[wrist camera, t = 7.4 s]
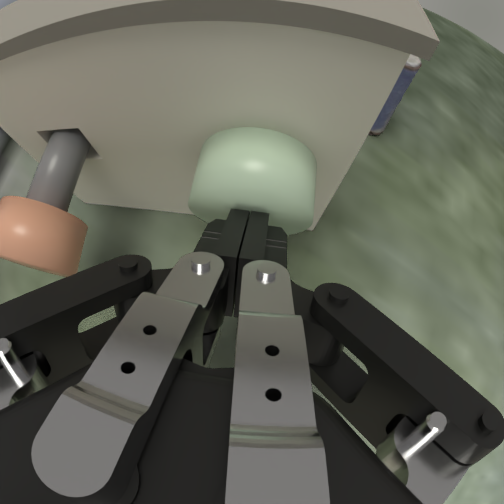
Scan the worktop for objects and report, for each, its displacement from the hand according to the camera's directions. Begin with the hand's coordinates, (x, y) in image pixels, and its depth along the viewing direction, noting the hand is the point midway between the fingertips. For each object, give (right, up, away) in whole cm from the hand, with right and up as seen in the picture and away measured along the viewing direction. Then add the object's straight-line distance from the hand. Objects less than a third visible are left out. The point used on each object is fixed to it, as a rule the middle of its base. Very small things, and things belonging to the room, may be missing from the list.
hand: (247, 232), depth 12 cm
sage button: (+1, +4, +3) cm, 5 cm away
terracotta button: (-10, +2, +3) cm, 10 cm away
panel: (-4, +4, +10) cm, 12 cm away
